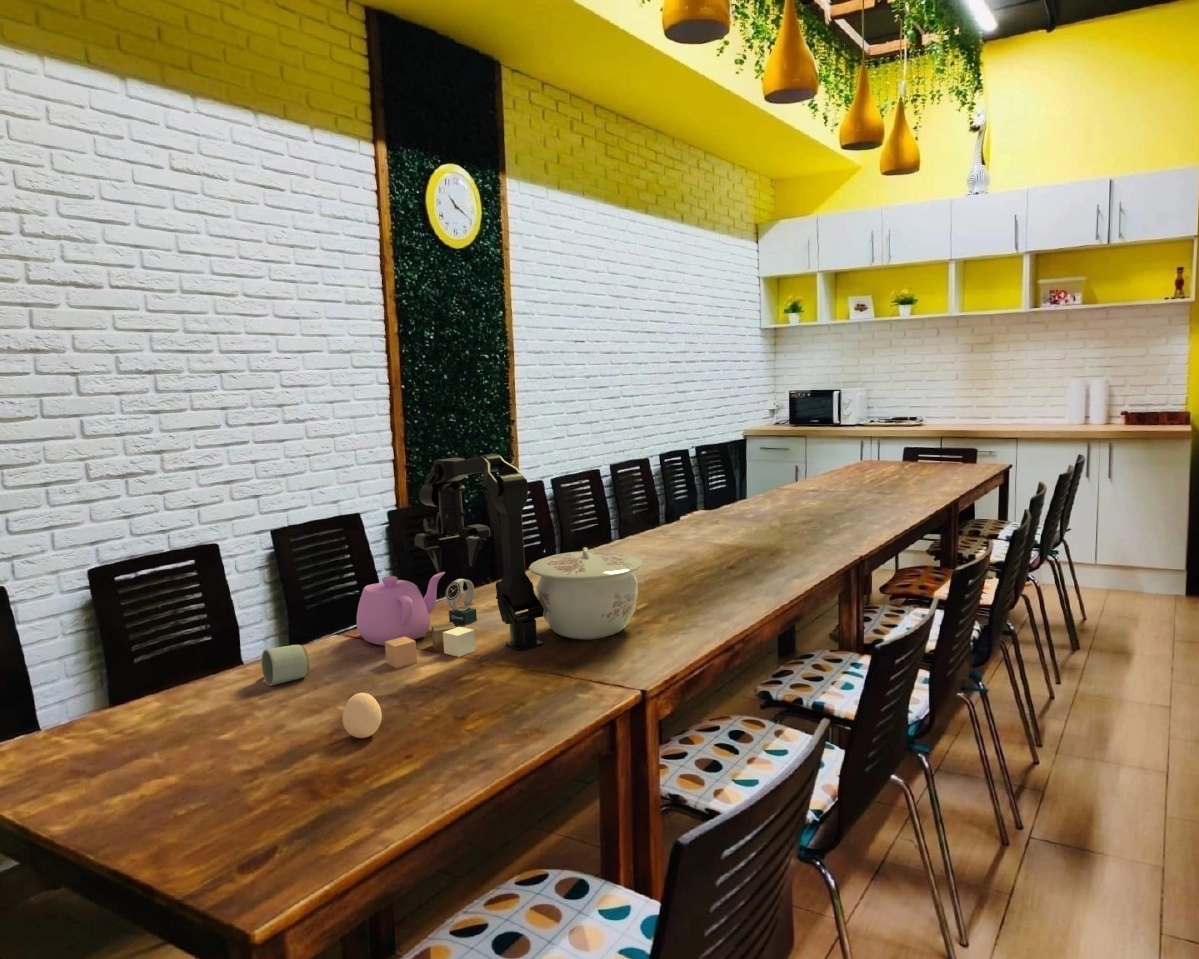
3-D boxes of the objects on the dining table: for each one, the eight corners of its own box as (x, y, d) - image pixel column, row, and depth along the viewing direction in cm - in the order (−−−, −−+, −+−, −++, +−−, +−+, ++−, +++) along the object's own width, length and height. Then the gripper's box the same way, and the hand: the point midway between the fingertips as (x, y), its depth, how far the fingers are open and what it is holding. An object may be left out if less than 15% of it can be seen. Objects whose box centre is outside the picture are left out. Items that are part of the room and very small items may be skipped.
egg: (344, 747, 148) (340, 703, 147) (344, 732, 155) (340, 690, 154) (384, 741, 150) (380, 697, 149) (382, 726, 156) (379, 684, 155)
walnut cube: (457, 648, 200) (456, 627, 199) (435, 651, 198) (434, 630, 198) (454, 642, 205) (452, 622, 204) (432, 645, 203) (431, 625, 202)
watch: (444, 624, 220) (441, 582, 218) (465, 616, 226) (463, 575, 225) (460, 627, 217) (457, 584, 215) (481, 618, 223) (479, 577, 222)
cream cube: (475, 651, 197) (474, 629, 197) (459, 657, 194) (457, 635, 193) (460, 647, 201) (459, 626, 200) (444, 653, 197) (442, 632, 196)
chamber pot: (579, 658, 189) (575, 565, 186) (509, 632, 210) (505, 548, 207) (671, 630, 206) (668, 545, 204) (598, 609, 227) (595, 531, 225)
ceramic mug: (313, 679, 183) (309, 644, 182) (274, 690, 178) (270, 653, 177) (294, 668, 191) (291, 635, 190) (257, 678, 186) (253, 643, 185)
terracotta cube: (417, 663, 191) (415, 641, 190) (396, 668, 188) (394, 646, 187) (406, 657, 195) (405, 636, 194) (386, 663, 192) (384, 641, 191)
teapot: (378, 657, 196) (373, 593, 194) (349, 636, 213) (344, 577, 211) (470, 637, 208) (466, 576, 206) (435, 618, 226) (431, 562, 224)
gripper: (467, 501, 228) (471, 558, 230) (402, 510, 217) (407, 571, 218) (489, 504, 219) (493, 564, 221) (422, 514, 208) (427, 577, 210)
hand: (455, 569), depth 218 cm, fingers open, 9 cm apart
